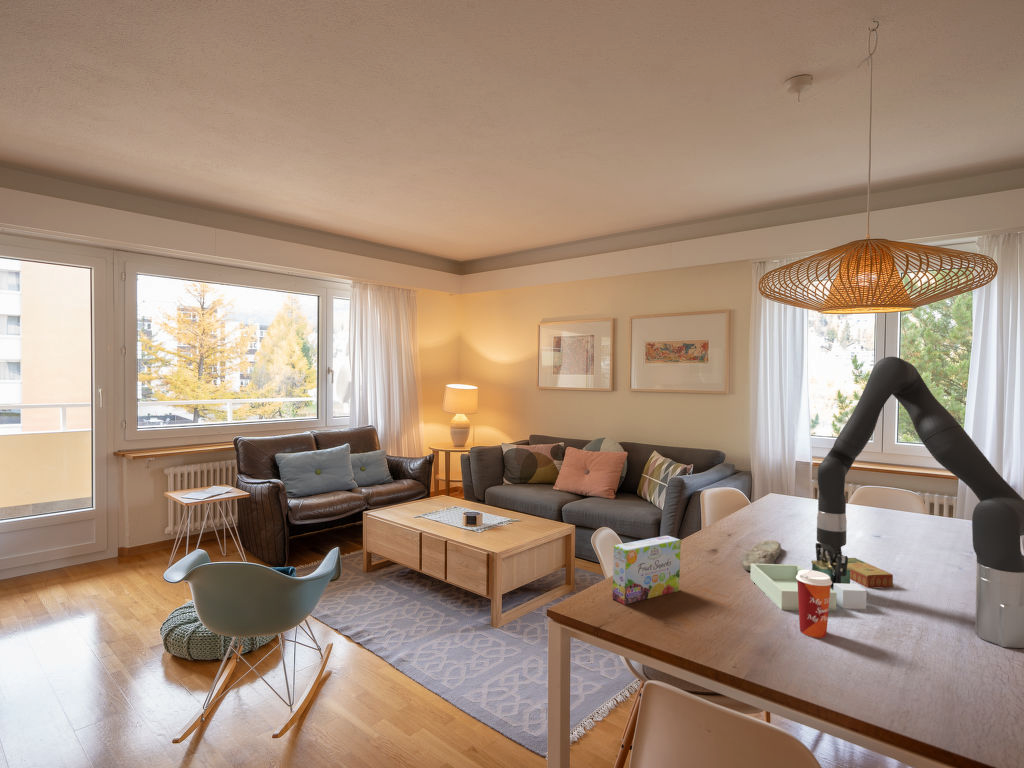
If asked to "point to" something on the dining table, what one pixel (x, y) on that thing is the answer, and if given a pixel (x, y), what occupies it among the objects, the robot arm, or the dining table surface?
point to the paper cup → (813, 602)
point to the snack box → (646, 569)
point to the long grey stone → (761, 554)
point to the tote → (782, 584)
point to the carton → (869, 574)
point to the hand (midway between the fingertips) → (830, 584)
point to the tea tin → (830, 571)
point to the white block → (850, 596)
